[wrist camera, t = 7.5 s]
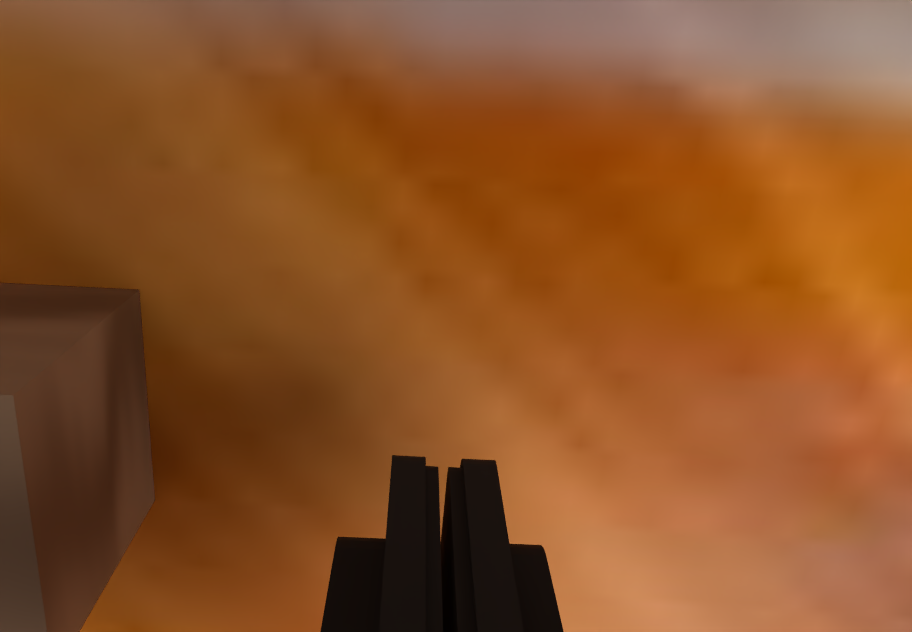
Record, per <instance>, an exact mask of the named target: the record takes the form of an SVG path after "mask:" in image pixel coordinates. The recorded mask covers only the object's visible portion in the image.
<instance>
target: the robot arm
mask: <svg viewBox="0 0 912 632" xmlns="http://www.w3.org/2000/svg"><path fill="white" fill-rule="evenodd" d="M321 632H563V628H562V623H561V619H560V615H559V610H558V606H557V601H556V597H555V593H554V588H553V584H552V579H551V575H550V571H549V566H548V562H547V558H546V554H545V551H544V548H543V547H542V546H541V545H524V544H509V539H508V533H507V527H506V521H505V514H504V508H503V502H502V496H501V490H500V483H499V477H498V471H497V465H496V461H495V460H476V459H462V460H461V465H460V468H455V467H449V468H448V473H447V483H446V494H445V504H444V515H443V525H442V535H441V542H440V508H439V473H438V467H434V466H426V458H425V457H415V456H395V455H392V466H391V479H390V492H389V504H388V517H387V530H386V539H379V538H355V537H338V538H337V542H336V546H335V552H334V558H333V564H332V569H331V575H330V581H329V587H328V592H327V598H326V604H325V610H324V615H323V621H322V627H321Z"/></svg>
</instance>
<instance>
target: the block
mask: <svg viewBox="0 0 912 632" xmlns="http://www.w3.org/2000/svg"><path fill="white" fill-rule="evenodd" d="M154 501H155V494H154V480H153V467H152V454H151V440H150V427H149V413H148V400H147V387H146V373H145V360H144V346H143V333H142V320H141V306H140V293H139V290H135V289H115V288H95V287H75V286H55V285H35V284H15V283H0V632H79V631H80V630H81V628H82V626H83V624H84V623H85V621H86V619H87V617H88V616H89V614H90V612H91V610H92V609H93V607H94V605H95V603H96V602H97V600H98V598H99V597H100V595H101V593H102V591H103V590H104V588H105V586H106V584H107V583H108V581H109V579H110V577H111V576H112V574H113V572H114V570H115V569H116V567H117V565H118V563H119V562H120V560H121V558H122V556H123V555H124V553H125V551H126V550H127V548H128V546H129V544H130V543H131V541H132V539H133V537H134V536H135V534H136V532H137V530H138V529H139V527H140V525H141V523H142V522H143V520H144V518H145V516H146V515H147V513H148V511H149V510H150V508H151V506H152V504H153V503H154Z"/></svg>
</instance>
